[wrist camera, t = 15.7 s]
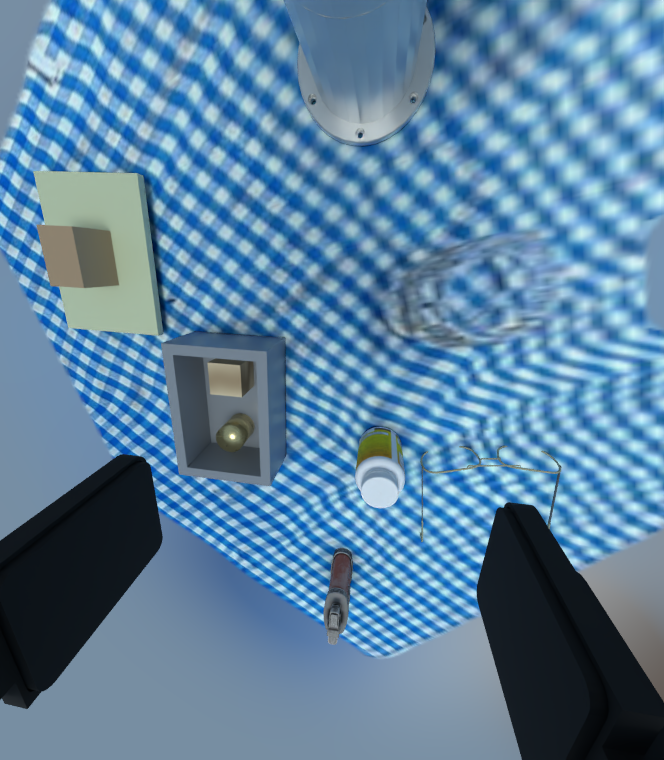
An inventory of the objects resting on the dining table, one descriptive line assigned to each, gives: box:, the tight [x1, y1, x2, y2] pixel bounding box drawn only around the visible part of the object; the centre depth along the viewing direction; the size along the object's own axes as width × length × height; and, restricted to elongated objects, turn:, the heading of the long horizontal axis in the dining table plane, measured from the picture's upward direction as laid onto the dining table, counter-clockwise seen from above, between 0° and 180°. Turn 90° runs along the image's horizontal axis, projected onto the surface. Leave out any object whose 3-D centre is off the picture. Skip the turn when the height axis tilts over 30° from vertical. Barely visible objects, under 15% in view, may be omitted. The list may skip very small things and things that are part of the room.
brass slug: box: [216, 413, 255, 452], centre depth 43 cm, size 4×4×4 cm
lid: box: [33, 171, 163, 335], centre depth 38 cm, size 18×13×8 cm
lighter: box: [324, 548, 353, 645], centre depth 48 cm, size 8×3×10 cm, turn 177°
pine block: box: [208, 358, 254, 397], centre depth 41 cm, size 4×4×4 cm
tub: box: [161, 331, 286, 486], centre depth 41 cm, size 17×12×7 cm
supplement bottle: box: [355, 427, 405, 508], centre depth 39 cm, size 6×6×10 cm
